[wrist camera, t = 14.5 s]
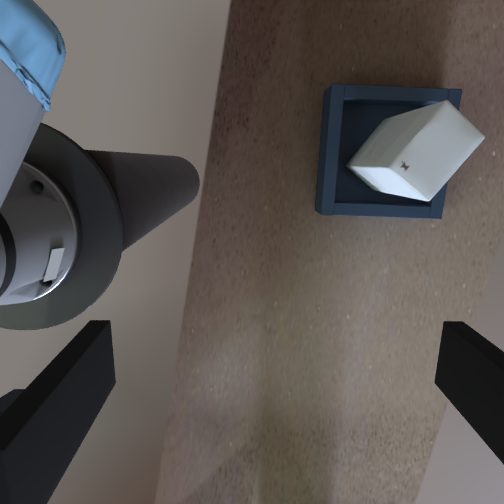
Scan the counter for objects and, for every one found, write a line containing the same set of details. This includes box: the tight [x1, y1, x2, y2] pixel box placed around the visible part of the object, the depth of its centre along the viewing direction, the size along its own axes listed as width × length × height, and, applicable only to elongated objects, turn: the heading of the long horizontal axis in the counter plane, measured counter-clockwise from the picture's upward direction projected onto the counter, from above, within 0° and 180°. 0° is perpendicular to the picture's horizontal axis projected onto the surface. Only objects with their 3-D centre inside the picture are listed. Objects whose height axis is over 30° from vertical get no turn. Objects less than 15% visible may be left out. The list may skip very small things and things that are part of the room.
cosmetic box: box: [346, 100, 485, 201], centre depth 32 cm, size 6×4×12 cm
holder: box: [315, 84, 462, 219], centre depth 37 cm, size 12×12×4 cm
